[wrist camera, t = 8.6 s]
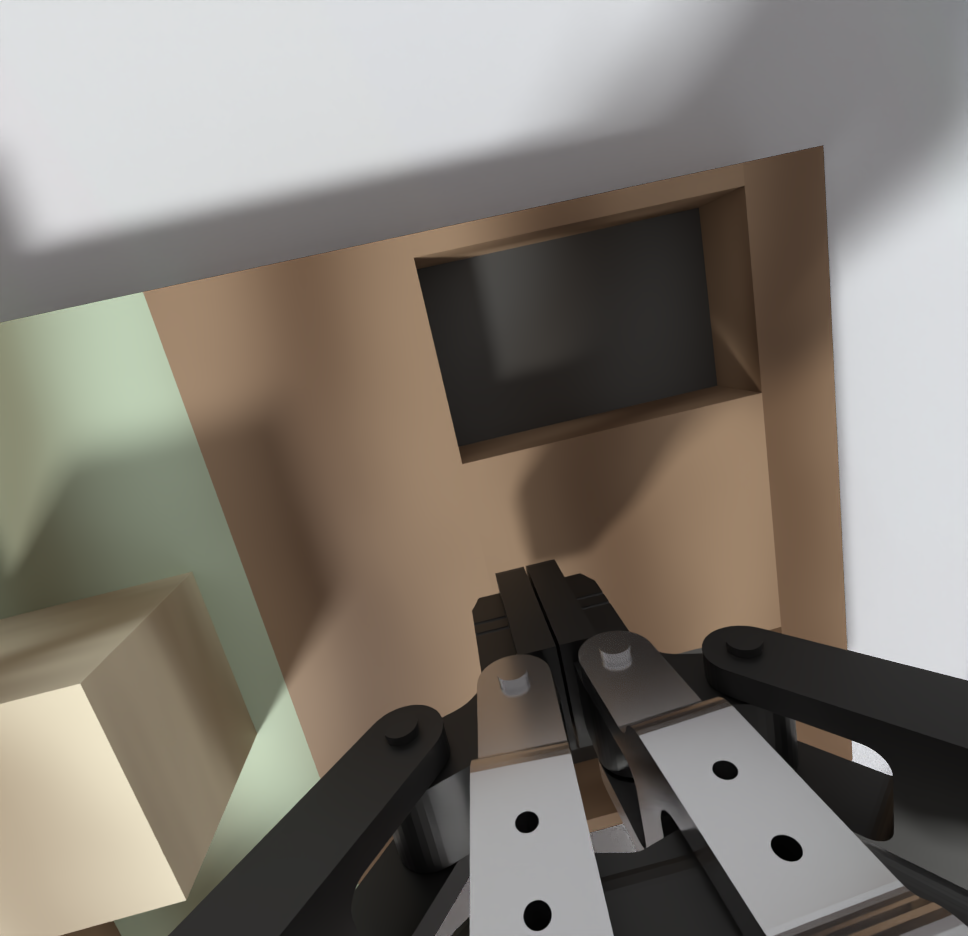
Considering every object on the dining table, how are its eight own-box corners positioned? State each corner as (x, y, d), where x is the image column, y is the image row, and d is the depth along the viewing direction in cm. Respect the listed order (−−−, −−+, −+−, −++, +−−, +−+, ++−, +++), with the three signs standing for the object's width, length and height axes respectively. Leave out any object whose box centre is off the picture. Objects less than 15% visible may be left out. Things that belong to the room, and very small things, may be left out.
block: (192, 571, 13) (80, 683, 9) (257, 733, 15) (186, 899, 10) (-10, 621, 13) (-224, 761, 9) (74, 782, 14) (-78, 973, 10)
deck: (759, 176, 15) (917, 99, 10) (799, 708, 20) (922, 829, 15) (-118, 366, 14) (-409, 382, 9) (142, 885, 18) (41, 1080, 14)
